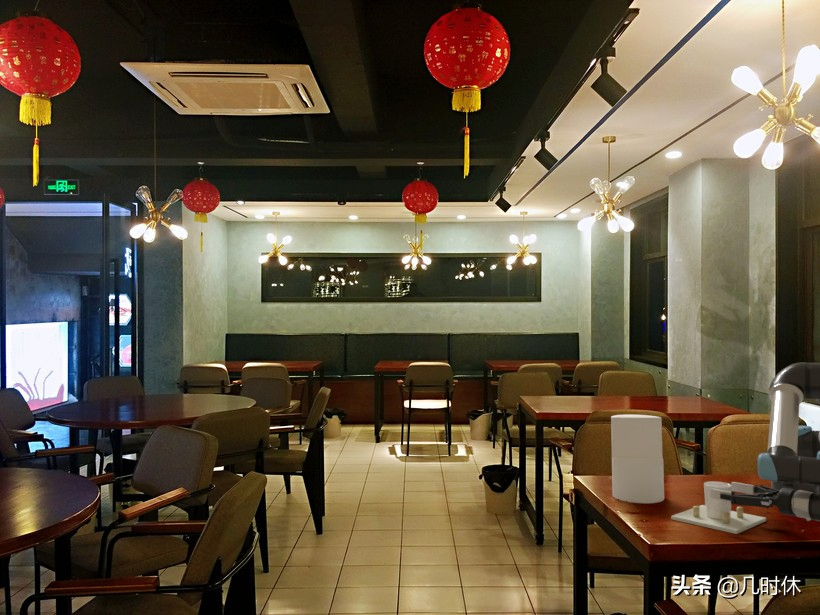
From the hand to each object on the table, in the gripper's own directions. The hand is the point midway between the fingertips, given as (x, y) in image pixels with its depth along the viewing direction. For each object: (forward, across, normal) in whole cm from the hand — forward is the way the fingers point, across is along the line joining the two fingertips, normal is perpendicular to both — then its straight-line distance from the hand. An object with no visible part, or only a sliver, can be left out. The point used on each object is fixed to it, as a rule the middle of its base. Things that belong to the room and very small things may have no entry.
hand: (721, 489), depth 202 cm
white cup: (+1, 0, -9) cm, 9 cm away
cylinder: (+33, +7, -10) cm, 36 cm away
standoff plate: (+2, 0, -10) cm, 10 cm away
